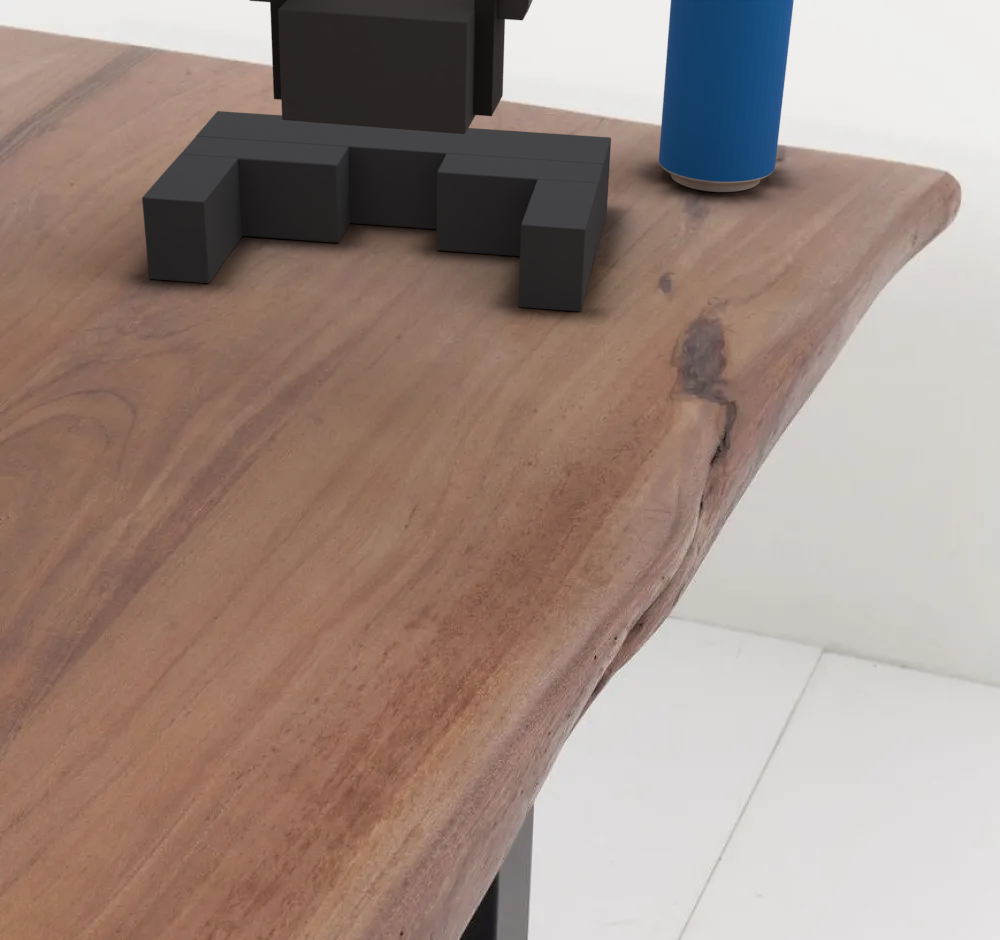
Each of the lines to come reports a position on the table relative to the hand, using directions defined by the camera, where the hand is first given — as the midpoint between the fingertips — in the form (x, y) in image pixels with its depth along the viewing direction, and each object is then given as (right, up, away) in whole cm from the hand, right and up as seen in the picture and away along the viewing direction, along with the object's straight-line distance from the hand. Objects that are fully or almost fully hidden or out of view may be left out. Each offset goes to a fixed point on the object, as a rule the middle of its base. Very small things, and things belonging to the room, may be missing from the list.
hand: (389, 96), depth 73 cm
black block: (0, 0, 0) cm, 0 cm away
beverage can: (+16, +7, +33) cm, 37 cm away
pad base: (-1, +1, +23) cm, 23 cm away
